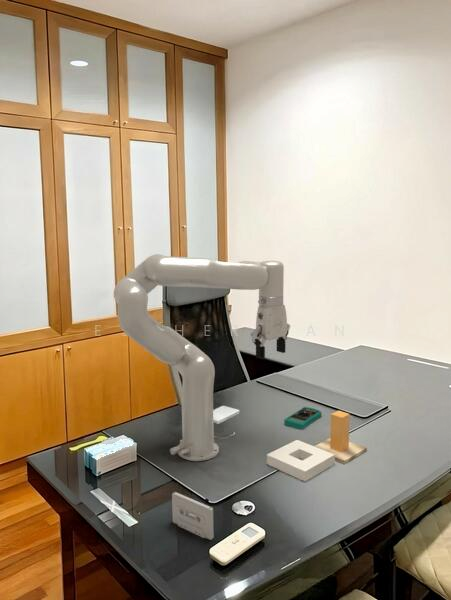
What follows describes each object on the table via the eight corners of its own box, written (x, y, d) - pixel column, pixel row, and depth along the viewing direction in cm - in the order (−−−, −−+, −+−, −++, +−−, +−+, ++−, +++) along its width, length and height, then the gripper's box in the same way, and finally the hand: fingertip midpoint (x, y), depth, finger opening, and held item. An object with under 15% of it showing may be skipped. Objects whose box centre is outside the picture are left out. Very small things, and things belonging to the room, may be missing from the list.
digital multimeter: (322, 417, 189) (322, 409, 189) (302, 431, 178) (302, 423, 177) (304, 412, 194) (304, 405, 193) (283, 426, 182) (283, 418, 182)
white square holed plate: (305, 481, 145) (305, 471, 144) (266, 464, 155) (266, 454, 154) (334, 464, 154) (335, 454, 154) (296, 448, 164) (296, 439, 164)
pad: (344, 464, 154) (344, 460, 154) (311, 450, 163) (311, 447, 163) (366, 450, 162) (366, 447, 162) (333, 438, 171) (333, 435, 171)
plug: (341, 452, 159) (342, 417, 157) (330, 448, 162) (330, 414, 160) (348, 448, 162) (349, 414, 160) (337, 443, 165) (338, 410, 163)
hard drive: (222, 405, 198) (200, 415, 188) (239, 410, 193) (218, 420, 183) (222, 409, 198) (200, 419, 189) (240, 414, 193) (218, 425, 184)
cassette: (171, 523, 127) (170, 493, 125) (176, 519, 128) (175, 490, 127) (210, 541, 119) (209, 510, 118) (215, 537, 121) (214, 507, 120)
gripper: (261, 306, 154) (261, 363, 157) (298, 299, 166) (297, 352, 169) (242, 303, 159) (242, 358, 162) (280, 296, 171) (279, 347, 174)
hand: (270, 355), depth 166 cm, fingers open, 9 cm apart
